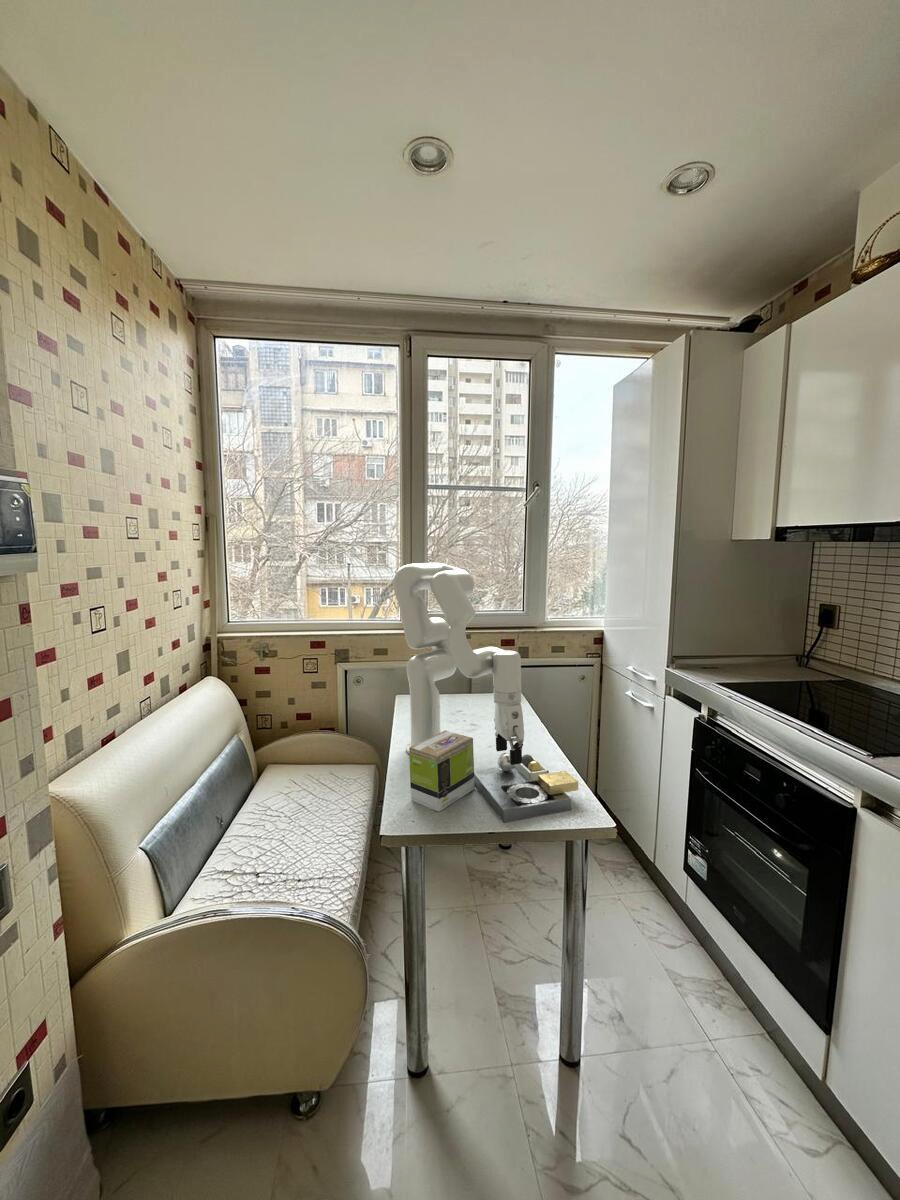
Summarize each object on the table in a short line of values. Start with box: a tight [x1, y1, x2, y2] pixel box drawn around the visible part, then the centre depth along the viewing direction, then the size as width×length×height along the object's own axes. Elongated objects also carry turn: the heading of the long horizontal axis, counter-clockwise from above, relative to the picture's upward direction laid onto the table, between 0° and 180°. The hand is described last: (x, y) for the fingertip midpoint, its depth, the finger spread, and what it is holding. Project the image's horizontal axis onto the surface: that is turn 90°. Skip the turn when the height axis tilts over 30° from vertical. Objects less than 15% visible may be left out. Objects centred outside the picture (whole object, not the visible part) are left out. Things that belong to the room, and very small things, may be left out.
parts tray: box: [515, 755, 550, 781], centre depth 136 cm, size 10×6×2 cm, turn 17°
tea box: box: [408, 730, 475, 812], centre depth 129 cm, size 15×10×15 cm
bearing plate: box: [474, 766, 572, 823], centre depth 130 cm, size 22×18×3 cm
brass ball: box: [528, 760, 541, 772], centre depth 134 cm, size 4×4×4 cm
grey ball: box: [522, 754, 534, 768], centre depth 138 cm, size 4×4×4 cm
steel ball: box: [497, 752, 516, 772], centre depth 137 cm, size 5×5×5 cm
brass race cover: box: [538, 770, 579, 795], centre depth 127 cm, size 6×8×2 cm
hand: (508, 756), depth 136 cm, fingers open, 9 cm apart
